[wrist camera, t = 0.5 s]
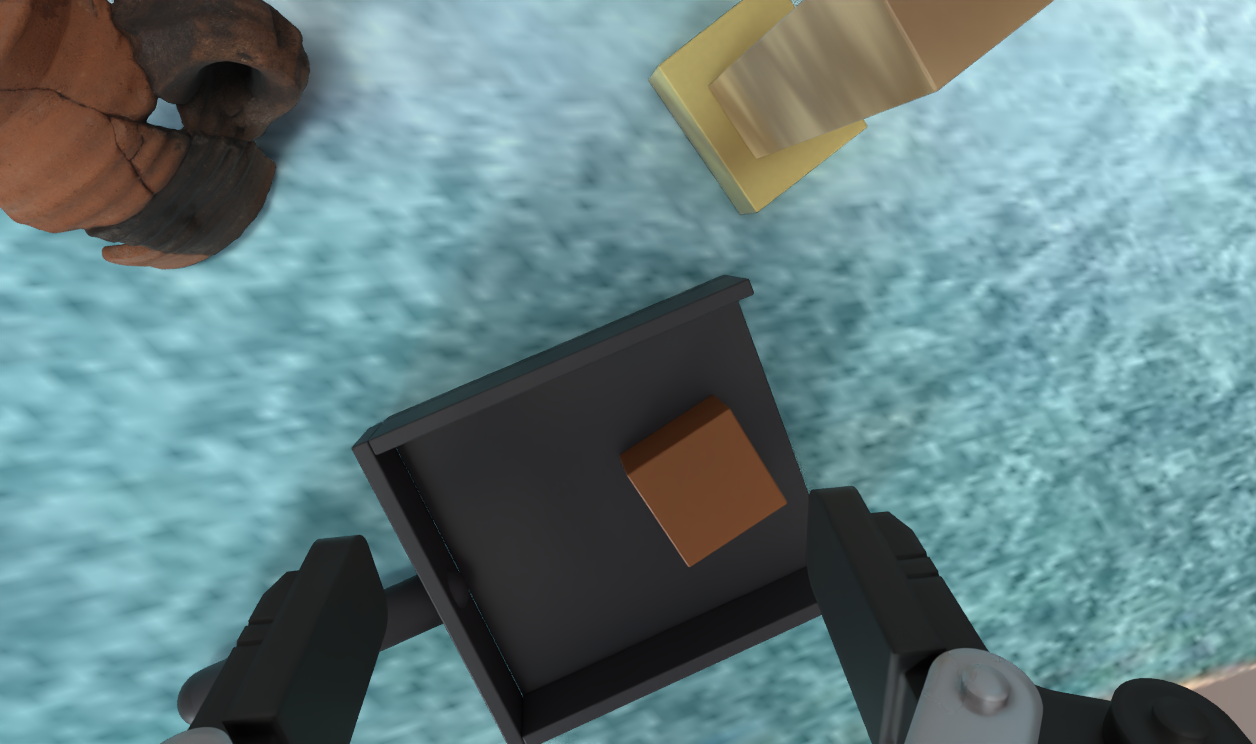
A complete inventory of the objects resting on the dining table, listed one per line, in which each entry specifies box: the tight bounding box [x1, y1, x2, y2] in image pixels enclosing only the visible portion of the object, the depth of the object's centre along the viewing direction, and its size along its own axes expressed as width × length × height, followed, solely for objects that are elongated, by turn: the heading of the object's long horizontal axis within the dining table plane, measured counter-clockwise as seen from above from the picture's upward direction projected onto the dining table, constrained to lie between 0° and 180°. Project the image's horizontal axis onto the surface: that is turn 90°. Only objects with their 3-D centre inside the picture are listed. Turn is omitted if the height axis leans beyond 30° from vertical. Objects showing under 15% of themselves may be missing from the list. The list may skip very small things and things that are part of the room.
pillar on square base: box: [649, 0, 1054, 215], centre depth 19 cm, size 6×5×13 cm
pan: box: [177, 275, 822, 744], centre depth 26 cm, size 25×13×3 cm, turn 112°
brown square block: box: [619, 395, 787, 567], centre depth 26 cm, size 4×4×2 cm
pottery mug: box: [0, 0, 310, 269], centre depth 20 cm, size 12×10×8 cm
